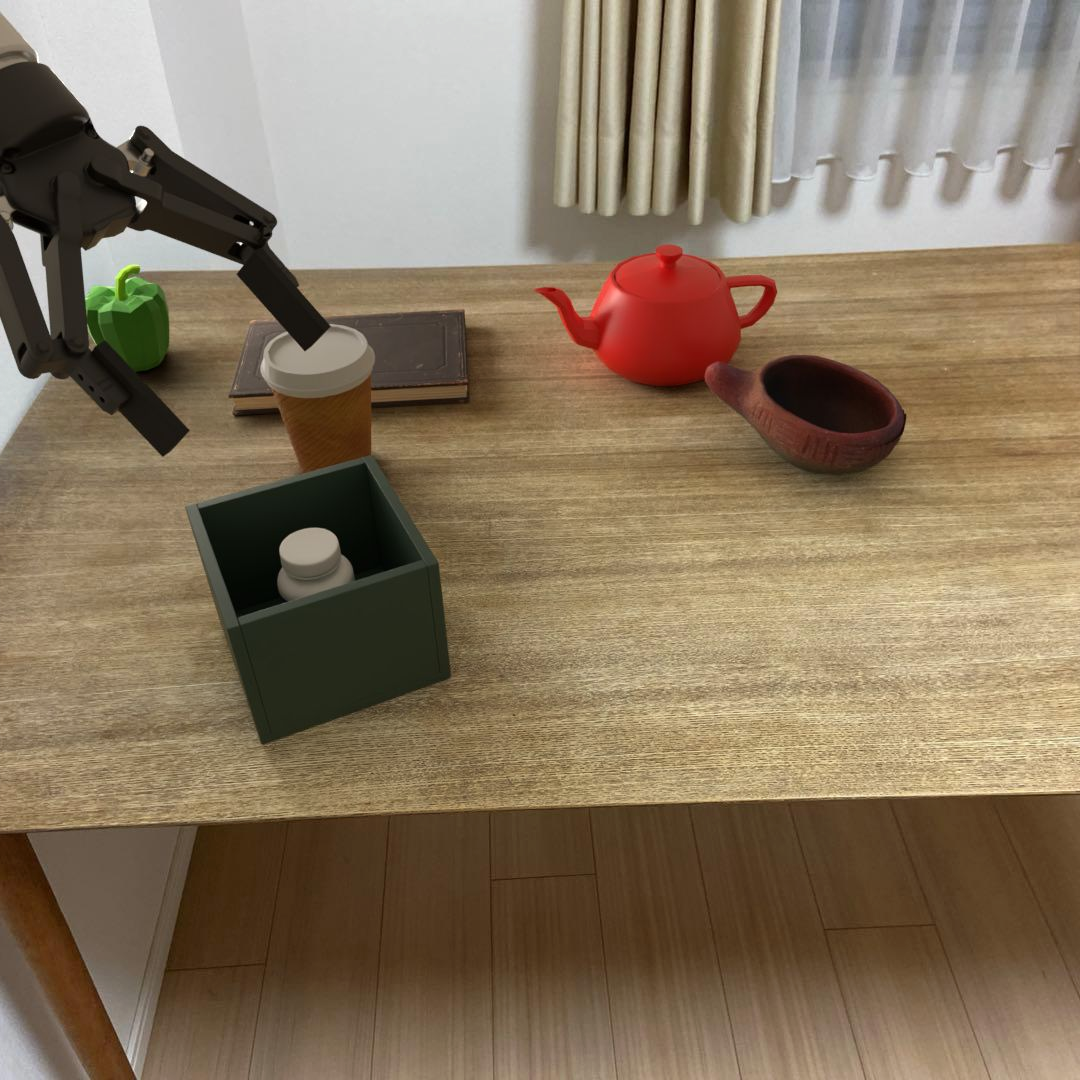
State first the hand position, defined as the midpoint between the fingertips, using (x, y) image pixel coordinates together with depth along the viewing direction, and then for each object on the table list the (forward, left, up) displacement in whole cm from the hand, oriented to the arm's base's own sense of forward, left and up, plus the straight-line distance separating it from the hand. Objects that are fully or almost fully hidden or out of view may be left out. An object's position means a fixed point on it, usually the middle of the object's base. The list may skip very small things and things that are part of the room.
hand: (252, 388), depth 62 cm
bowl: (+46, +2, -21) cm, 51 cm away
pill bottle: (+1, -2, -20) cm, 21 cm away
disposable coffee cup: (+8, +20, -21) cm, 30 cm away
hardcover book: (+15, +36, -21) cm, 44 cm away
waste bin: (+1, -2, -21) cm, 21 cm away
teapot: (+43, +23, -21) cm, 53 cm away
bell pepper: (-5, +48, -21) cm, 53 cm away
